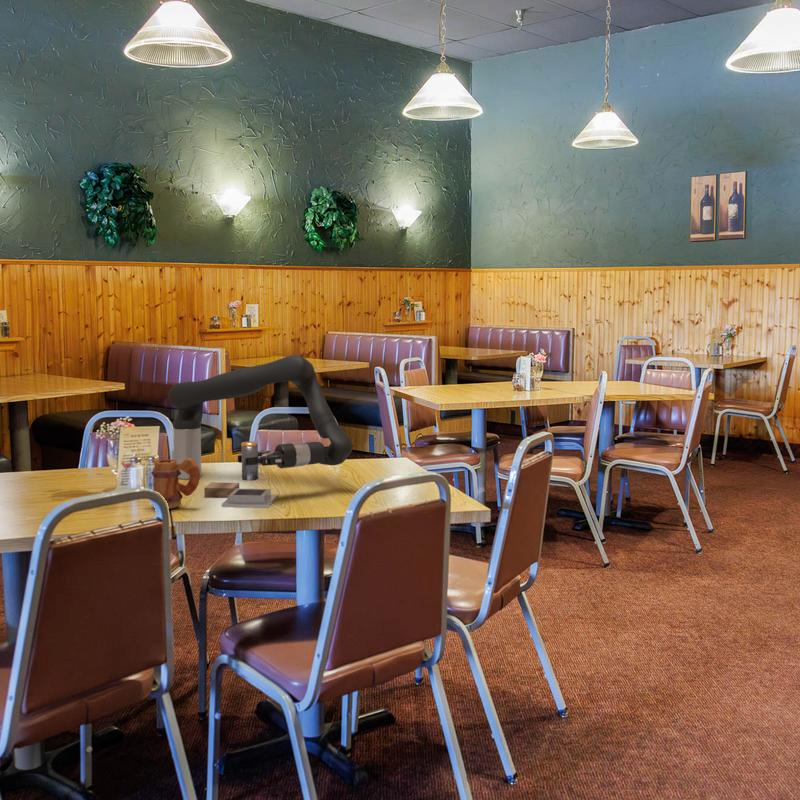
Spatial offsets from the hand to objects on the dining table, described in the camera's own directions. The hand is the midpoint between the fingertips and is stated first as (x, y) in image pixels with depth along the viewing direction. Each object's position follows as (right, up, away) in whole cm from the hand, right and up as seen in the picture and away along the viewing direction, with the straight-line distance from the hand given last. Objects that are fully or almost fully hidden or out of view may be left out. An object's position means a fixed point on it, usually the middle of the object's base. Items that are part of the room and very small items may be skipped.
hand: (241, 460), depth 272 cm
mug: (-18, -14, -6) cm, 24 cm away
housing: (+2, -13, +3) cm, 13 cm away
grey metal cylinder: (+2, -6, +2) cm, 7 cm away
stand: (-8, -12, +13) cm, 20 cm away
